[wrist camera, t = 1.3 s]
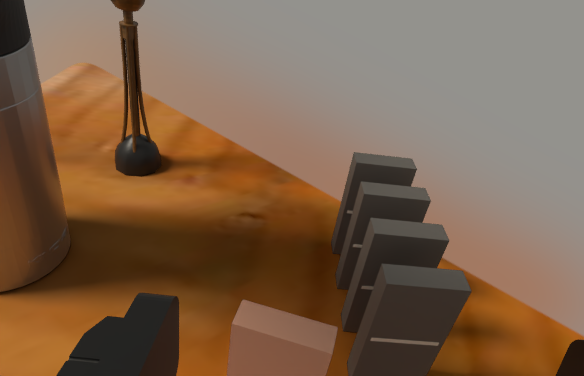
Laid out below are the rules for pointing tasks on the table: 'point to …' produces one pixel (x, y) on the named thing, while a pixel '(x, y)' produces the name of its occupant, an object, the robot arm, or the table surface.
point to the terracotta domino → (278, 343)
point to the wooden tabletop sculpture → (133, 102)
